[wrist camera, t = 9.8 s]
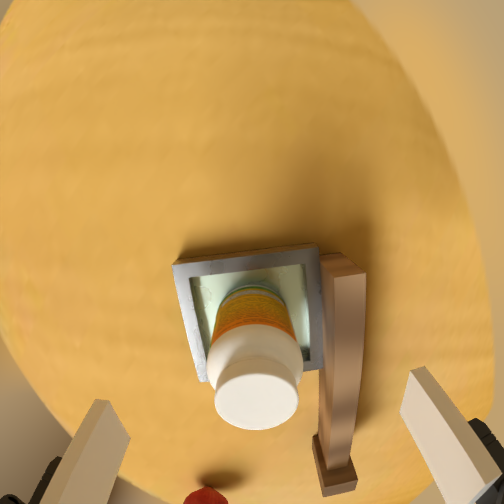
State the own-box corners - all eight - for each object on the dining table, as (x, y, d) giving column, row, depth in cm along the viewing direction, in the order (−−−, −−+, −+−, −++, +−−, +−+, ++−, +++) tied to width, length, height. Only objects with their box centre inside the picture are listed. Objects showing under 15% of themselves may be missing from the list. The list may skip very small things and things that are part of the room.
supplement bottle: (205, 297, 21) (177, 378, 12) (274, 272, 21) (295, 343, 11) (233, 354, 22) (226, 447, 13) (297, 332, 22) (324, 421, 13)
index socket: (176, 259, 21) (171, 265, 19) (313, 242, 21) (318, 247, 19) (201, 371, 23) (199, 382, 22) (319, 358, 23) (322, 368, 22)
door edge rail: (306, 257, 21) (333, 292, 14) (348, 251, 21) (389, 282, 14) (312, 448, 26) (323, 497, 19) (340, 443, 26) (354, 490, 19)
